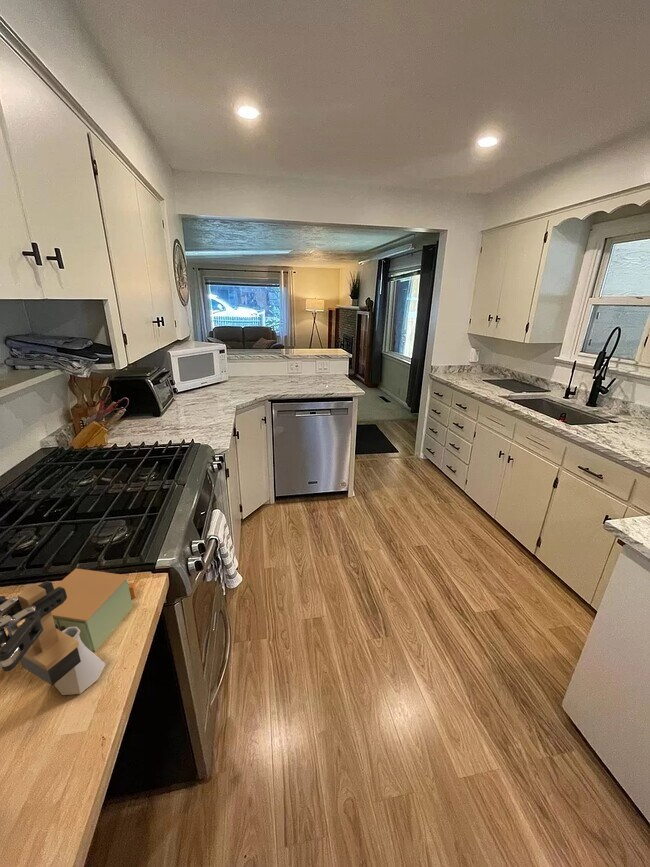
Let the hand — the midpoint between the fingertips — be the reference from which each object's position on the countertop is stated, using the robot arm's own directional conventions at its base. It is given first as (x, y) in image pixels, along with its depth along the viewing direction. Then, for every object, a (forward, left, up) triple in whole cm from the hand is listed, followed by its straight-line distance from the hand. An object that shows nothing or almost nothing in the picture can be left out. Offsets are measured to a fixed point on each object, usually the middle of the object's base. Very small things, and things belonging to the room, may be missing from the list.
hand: (57, 589), depth 51 cm
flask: (-6, +4, -24) cm, 25 cm away
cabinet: (-13, +14, -24) cm, 30 cm away
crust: (-9, +21, -23) cm, 32 cm away
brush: (-1, -3, -11) cm, 11 cm away
